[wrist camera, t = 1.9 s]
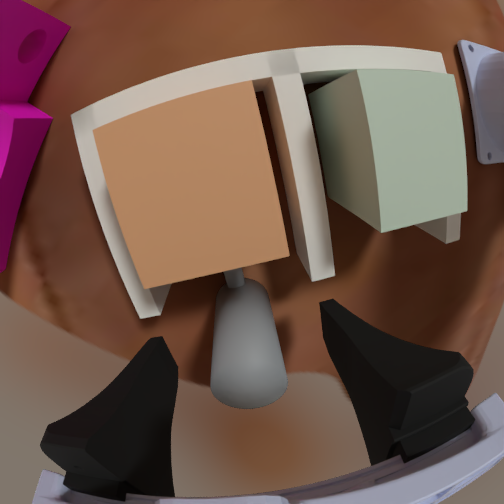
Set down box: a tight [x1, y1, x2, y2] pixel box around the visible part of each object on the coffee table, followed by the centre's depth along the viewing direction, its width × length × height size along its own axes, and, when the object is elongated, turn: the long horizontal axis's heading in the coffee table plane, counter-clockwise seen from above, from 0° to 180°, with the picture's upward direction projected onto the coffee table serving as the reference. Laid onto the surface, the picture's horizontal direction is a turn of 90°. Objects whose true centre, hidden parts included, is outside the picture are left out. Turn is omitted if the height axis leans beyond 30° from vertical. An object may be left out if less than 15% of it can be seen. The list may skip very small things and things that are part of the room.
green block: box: [308, 69, 467, 233], centre depth 10 cm, size 4×5×6 cm
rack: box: [71, 46, 461, 319], centre depth 11 cm, size 16×9×3 cm, turn 103°
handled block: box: [93, 80, 290, 409], centre depth 11 cm, size 4×11×6 cm, turn 13°
